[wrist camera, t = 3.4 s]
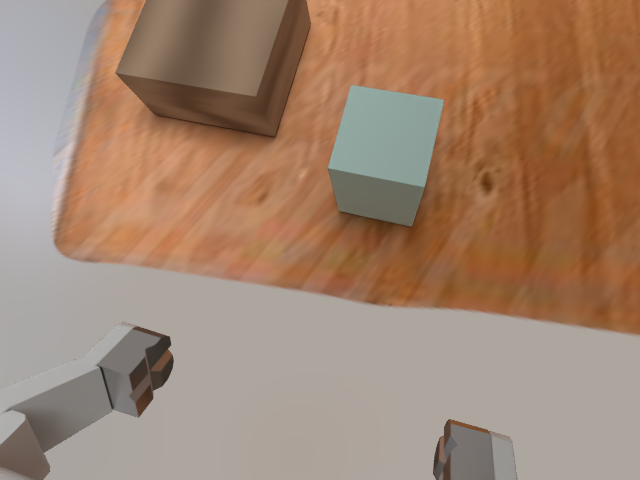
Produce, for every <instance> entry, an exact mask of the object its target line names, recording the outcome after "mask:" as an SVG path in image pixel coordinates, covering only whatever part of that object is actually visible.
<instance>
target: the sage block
mask: <svg viewBox="0 0 640 480" xmlns="http://www.w3.org/2000/svg"><path fill="white" fill-rule="evenodd" d="M443 103H444V99H437V98H431V97H424V96H418V95H412V94H405V93H399V92H393V91H386V90H380V89H373V88H367V87H361V86H354V85H351V88H350V91H349V95H348V98H347V102H346V106H345V109H344V113H343V116H342V120H341V123H340V127H339V130H338V134H337V137H336V141H335V145H334V148H333V152H332V155H331V159H330V162H329V166H328V171H329V175H330V178H331V182H332V186H333V190H334V194H335V198H336V202H337V206H338V210H339V211H341V212H346V213H350V214H355V215H359V216H364V217H369V218H373V219H378V220H383V221H387V222H392V223H396V224H401V225H406V226H410V227H412V225H413V222H414V219H415V216H416V213H417V209H418V206H419V203H420V200H421V197H422V194H423V191H424V188H425V184H426V179H427V175H428V170H429V166H430V161H431V157H432V153H433V148H434V144H435V139H436V135H437V130H438V126H439V121H440V117H441V112H442V108H443Z"/></svg>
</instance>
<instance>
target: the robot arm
mask: <svg viewBox="0 0 640 480" xmlns="http://www.w3.org/2000/svg"><path fill="white" fill-rule="evenodd" d="M170 346H171V341H170V337H169V336H166V335H163V334H160V333H157V332H154V331H150V330H147V329H144V328H141V327H138V326H135V325H132V324H129V323H125V322H122V323H119V324H117V325H116V326H115V327H114V328H113V329H112V330H111V331H110V332H109V333H108V334H107V335H106V336H105V337H104V338H103V339H101V340H100V341H99V342H98V343H97V344H96V345H95V346H94V347H93V348H92V349H91V350H90V351H89V352H88V353H87V354H86V355H85V356H84V357H83V358H82V359H81V360H76V359H75V360H72V361H69V362H67V363H65V364H62V365H59V366H57V367H54V368H52V369H49V370H47V371H44V372H42V373H39V374H37V375H34V376H32V377H29V378H27V379H24V380H22V381H20V382H17V383H14V384H12V385H9V386H7V387H4V388H2V389H0V480H43V479H44V478H45V477H46V476H47V474H48V473H49V472H50V465H49V463H48V461H47V459H46V457H45V455H44V452H46V451H48V450H49V449H51V448H53V447H54V446H56V445H57V444H59V443H61V442H62V441H64V440H66V439H67V438H69V437H71V436H72V435H74V434H76V433H77V432H79V431H81V430H82V429H84V428H86V427H87V426H89V425H91V424H92V423H94V422H95V421H97V420H99V419H100V418H102V417H104V416H105V415H107V414H109V413H110V412H112V409H113V410H116V411H119V412H123V413H126V414H129V415H132V416H135V417H140V415H141V414H142V413H143V411H144V410H145V409H146V407H147V406H148V405H149V403H150V402H151V401H152V400H153V391H154V390H156V389H158V388H160V387H162V386H163V385H164V383H165V382H166V381H167V379H168V378H169V375H170V373H171V371H172V368H173V362H174V361H173V355H172V354H171V352H170V351H169V350H168V348H169V347H170ZM433 474H434V476H435V478H436V480H517V475H516V467H515V460H514V452H513V446H512V441H511V439H510V437H508V436H505V435H501V434H498V433H495V432H491V431H488V430H486V429H482V428H479V427H476V426H472V425H468V424H465V423H461V422H458V421H454V420H450V419H449V420H448V421H447V422H446V424H445V427H444V436H442V437H440V439H439V441H438V444H437V447H436V452H435V457H434V468H433Z"/></svg>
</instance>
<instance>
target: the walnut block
mask: <svg viewBox="0 0 640 480" xmlns="http://www.w3.org/2000/svg"><path fill="white" fill-rule="evenodd" d="M310 24H311V22H310V17H309V12H308V6H307V1H306V0H146V2H145V4H144V7H143V9H142V11H141V14H140V16H139V18H138V21H137V23H136V25H135V28H134V30H133V32H132V35H131V37H130V39H129V42H128V44H127V46H126V49H125V51H124V54H123V56H122V58H121V61H120V63H119V65H118V68H117V70H116V72H115V73H116V74H117V75H118V76H119V77H120V78H121V80H122V81H123V82H124V83H125V84H126V85H127V86H128V87H129V88H130V89H131V90H132V91H133V92H134V93H135V94H136V95H137V96H138V97H139V98H140V100H141V101H142V102H143V103H144V104H145V105H146V106H147V107H148V108H149V109H150V110H151V111H152V112H153V113H154V114H156V115H161V116H166V117H172V118H177V119H182V120H188V121H193V122H198V123H204V124H209V125H215V126H220V127H225V128H231V129H236V130H241V131H247V132H252V133H257V134H263V135H268V136H274V137H275V135H276V132H277V129H278V125H279V122H280V119H281V116H282V113H283V110H284V107H285V103H286V100H287V97H288V94H289V91H290V88H291V84H292V81H293V78H294V75H295V72H296V69H297V65H298V62H299V59H300V56H301V53H302V50H303V47H304V43H305V40H306V37H307V34H308V31H309V28H310Z"/></svg>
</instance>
